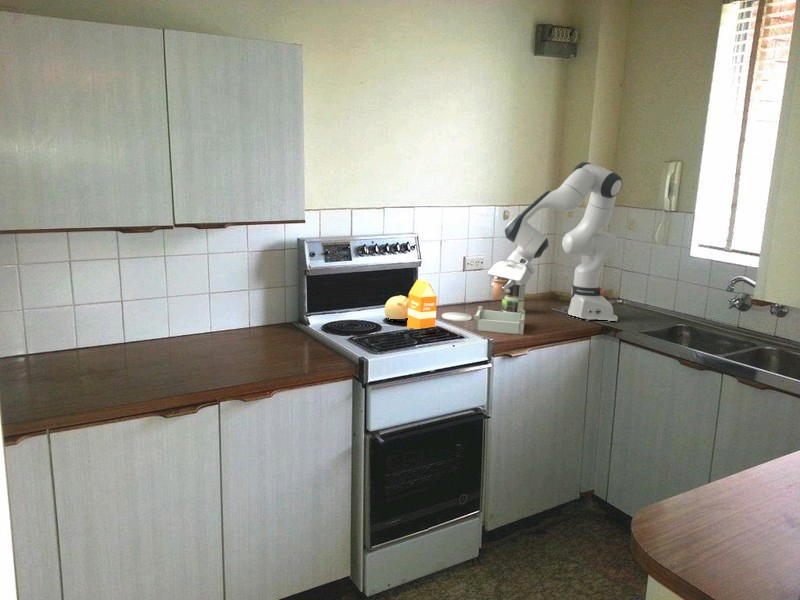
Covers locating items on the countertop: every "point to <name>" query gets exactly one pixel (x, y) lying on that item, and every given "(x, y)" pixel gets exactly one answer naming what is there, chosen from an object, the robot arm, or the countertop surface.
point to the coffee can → (513, 299)
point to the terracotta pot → (498, 288)
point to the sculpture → (397, 307)
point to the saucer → (456, 316)
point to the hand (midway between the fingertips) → (498, 288)
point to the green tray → (499, 321)
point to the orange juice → (421, 306)
